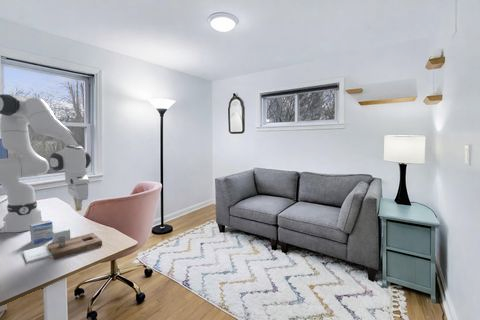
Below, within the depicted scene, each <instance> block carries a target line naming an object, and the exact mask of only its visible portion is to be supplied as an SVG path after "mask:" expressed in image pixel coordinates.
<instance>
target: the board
mask: <svg viewBox="0 0 480 320" xmlns="http://www.w3.org/2000/svg"><path fill="white" fill-rule="evenodd" d="M101 246H103V241H102V238H100V237H98V236H97V235H96V234H95V233H94V232H91V233H87V234H84V235H79V236H75V237H70V239H67V240H65V236H61V237H59V238H58V242H55V243H53V242H52V243H48V244H47V247H48V249H49V250H50V252H51V254H52V258H53V260H59V259H61V258H66V257H69V256H71V255H74V254H78V253H81V252H85V251H88V250H91V249H95V248H98V247H101Z"/></svg>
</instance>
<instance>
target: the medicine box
mask: <svg viewBox="0 0 480 320" xmlns="http://www.w3.org/2000/svg"><path fill="white" fill-rule="evenodd" d="M53 226H54V225H53V221H52V220H44V222H40V223H35V224H31V225H30V230H29V232H30V233H29V234H30V242H31V243H32V244H34V245H35V244H39V243H42V242H46V241H49V240H52V230H53V229H54V227H53Z"/></svg>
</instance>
